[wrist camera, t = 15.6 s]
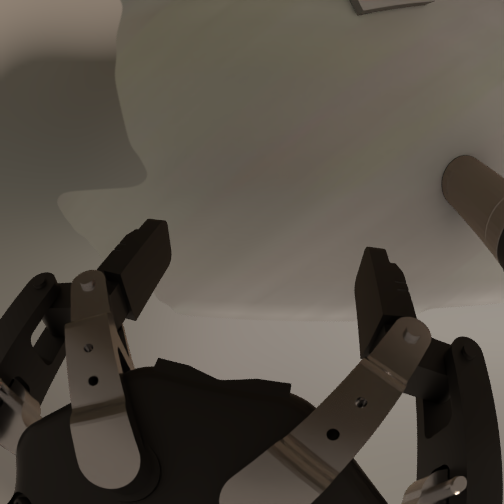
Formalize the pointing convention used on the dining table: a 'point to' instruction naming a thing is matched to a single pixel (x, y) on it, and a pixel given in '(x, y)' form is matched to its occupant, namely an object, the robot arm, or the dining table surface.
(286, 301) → the dining table surface
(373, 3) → the charcoal block
